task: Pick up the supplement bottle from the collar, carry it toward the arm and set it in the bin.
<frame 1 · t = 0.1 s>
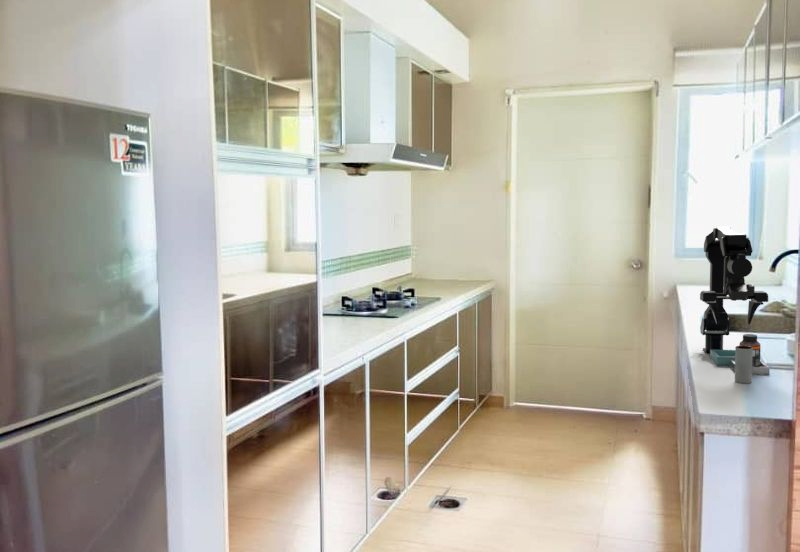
hand: (733, 323, 231), 15 cm above the counter, tool pointing down, fingers open, 9 cm apart
collar: (749, 370, 231), on the counter
grey hollow cylinder: (743, 382, 218), on the counter
supplement bottle: (749, 371, 231), resting in collar
bin: (732, 362, 243), on the counter
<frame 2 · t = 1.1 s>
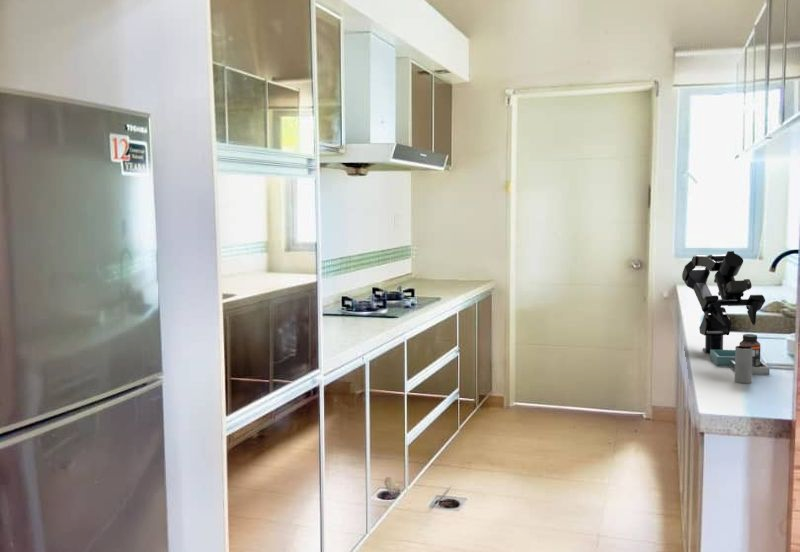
hand: (739, 324, 237), 13 cm above the counter, tool tilted 45°, fingers open, 9 cm apart
nothing on the counter moved.
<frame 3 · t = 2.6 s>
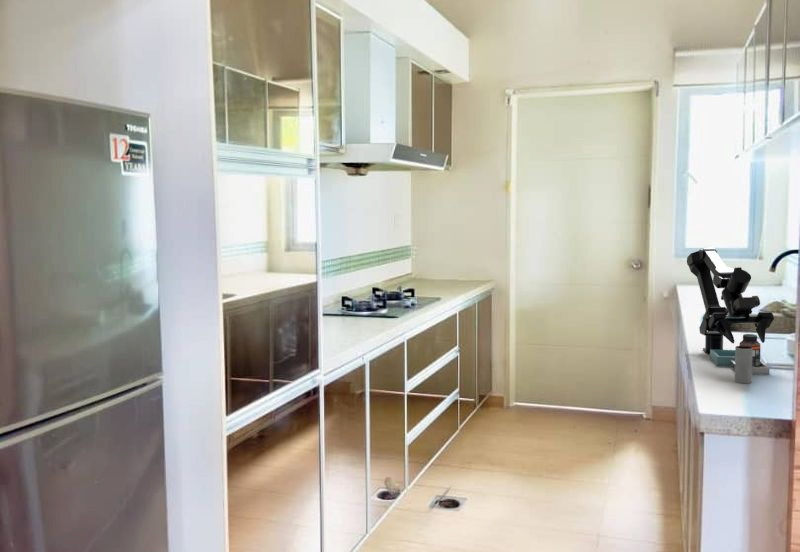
hand: (748, 342, 231), 9 cm above the counter, tool tilted 45°, fingers open, 9 cm apart
nothing on the counter moved.
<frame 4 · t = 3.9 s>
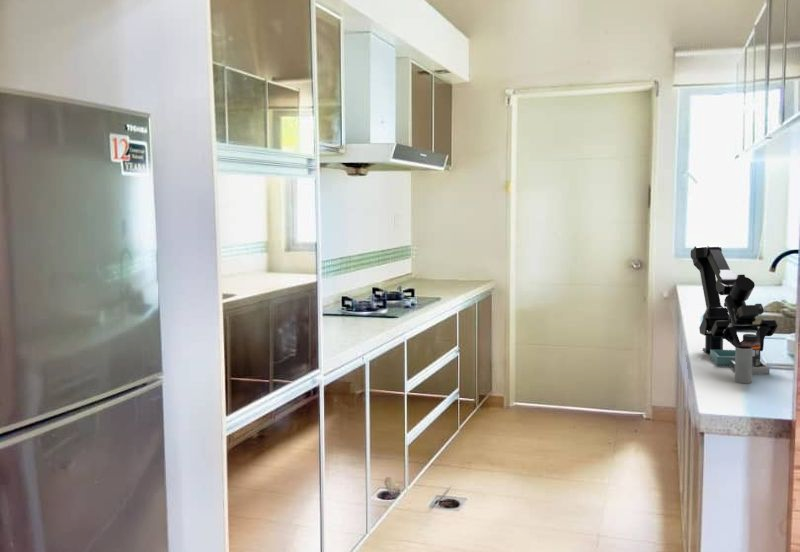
hand: (751, 350, 229), 7 cm above the counter, tool tilted 45°, fingers closed on supplement bottle, 6 cm apart
supplement bottle: (749, 371, 231), resting in collar, touching gripper
everything else where it was.
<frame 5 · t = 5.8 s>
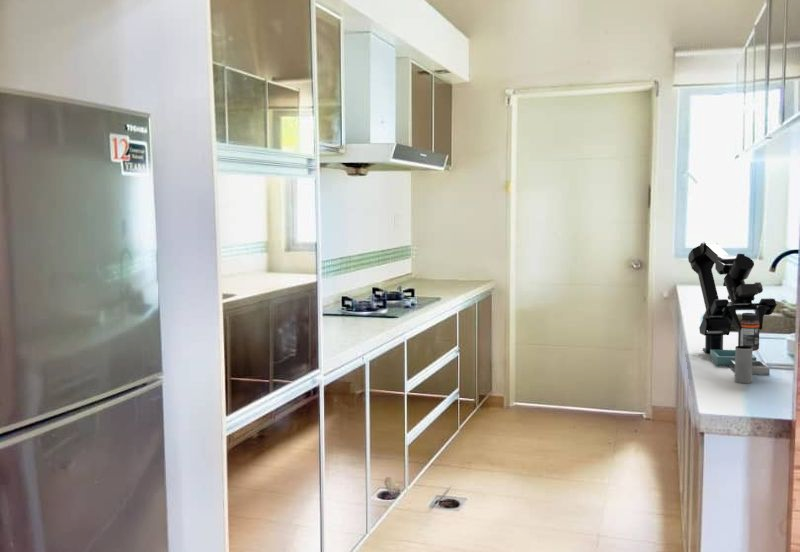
hand: (750, 329, 229), 13 cm above the counter, tool tilted 45°, fingers closed on supplement bottle, 6 cm apart
supplement bottle: (748, 350, 232), point 6 cm above the counter, touching gripper
everything else where it was.
when the fingers open (8 cm above the counter, at t = 8.1 s): supplement bottle drops 1 cm, resting on bin.
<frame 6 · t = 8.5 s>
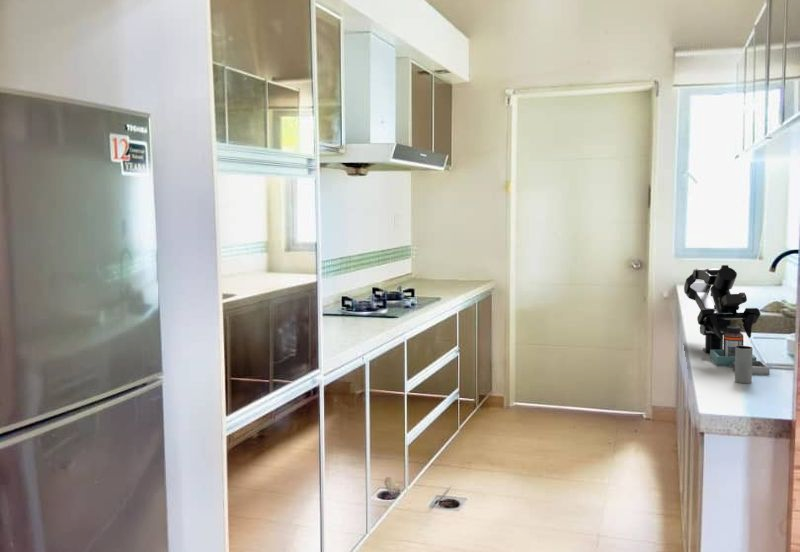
hand: (735, 337, 240), 9 cm above the counter, tool tilted 45°, fingers open, 9 cm apart
supplement bottle: (733, 361, 242), resting on bin
everything else where it was.
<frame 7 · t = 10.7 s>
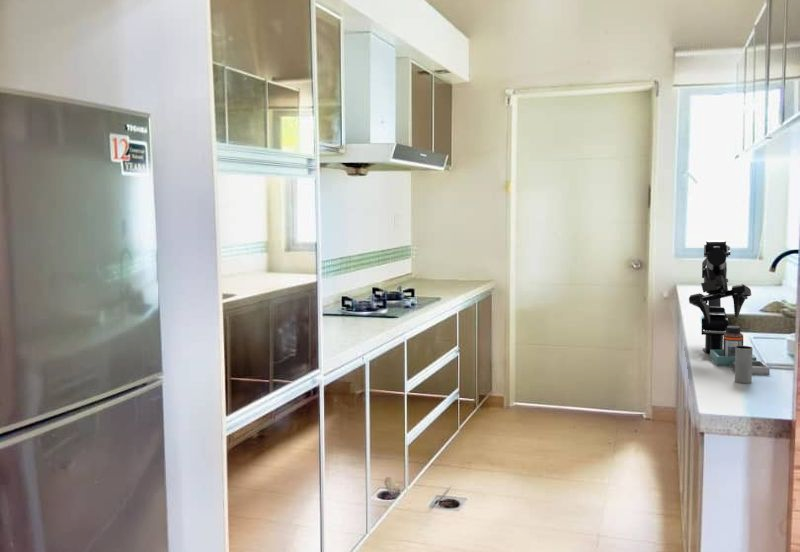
hand: (722, 320, 245), 13 cm above the counter, tool tilted 25°, fingers open, 9 cm apart
nothing on the counter moved.
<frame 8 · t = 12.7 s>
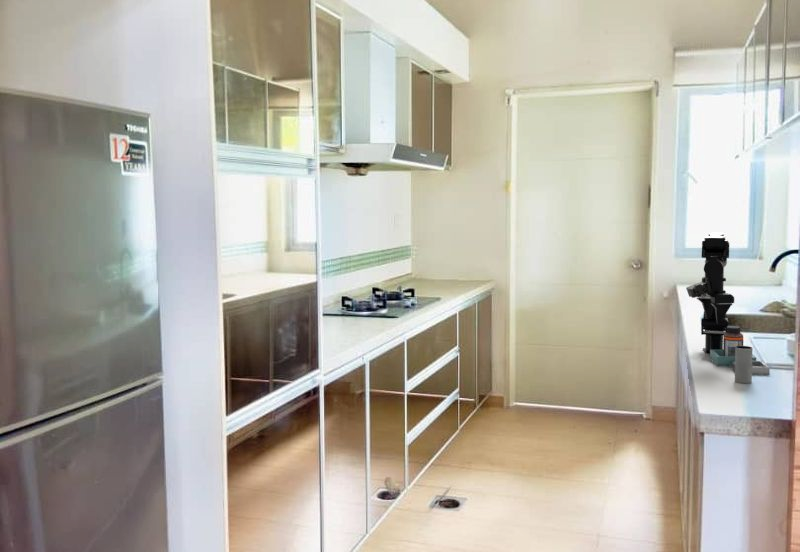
hand: (713, 321, 246), 13 cm above the counter, tool pointing down, fingers open, 9 cm apart
nothing on the counter moved.
at the end: supplement bottle inside the target area on the bin (0.3 cm from its centre), point 0.4 cm above the bin's base; supplement bottle tilted 0°; the gripper is holding nothing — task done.
